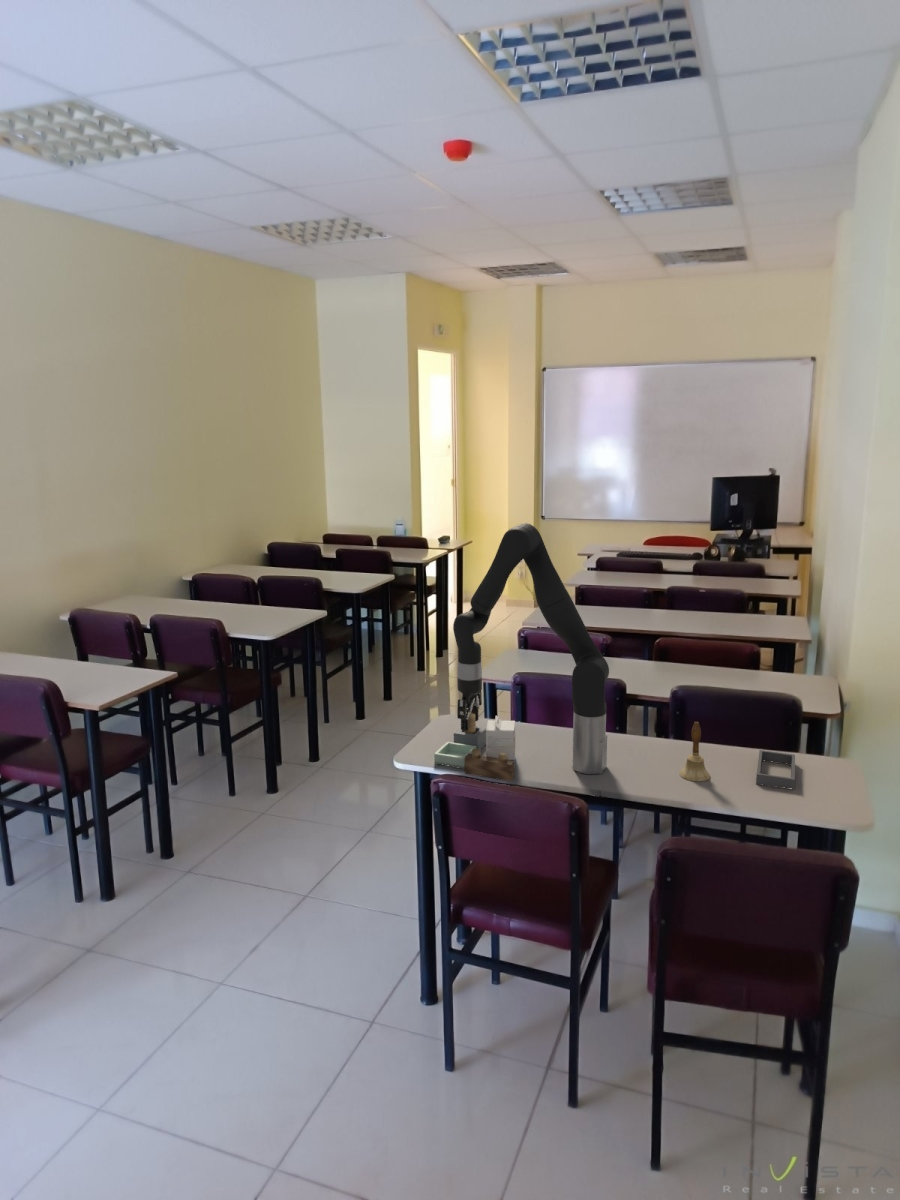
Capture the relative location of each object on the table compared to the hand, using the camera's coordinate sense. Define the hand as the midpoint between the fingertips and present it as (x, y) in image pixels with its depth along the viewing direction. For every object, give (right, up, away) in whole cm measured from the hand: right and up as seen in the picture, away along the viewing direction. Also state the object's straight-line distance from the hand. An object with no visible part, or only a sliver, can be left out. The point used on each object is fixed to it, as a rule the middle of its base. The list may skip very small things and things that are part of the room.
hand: (469, 725), depth 247 cm
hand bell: (+63, -11, -22) cm, 68 cm away
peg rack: (+5, -11, -20) cm, 23 cm away
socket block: (0, -6, +1) cm, 7 cm away
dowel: (0, -6, +1) cm, 7 cm away
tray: (-4, -9, -9) cm, 14 cm away
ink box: (+9, -9, -11) cm, 17 cm away
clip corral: (+86, -10, -22) cm, 89 cm away
